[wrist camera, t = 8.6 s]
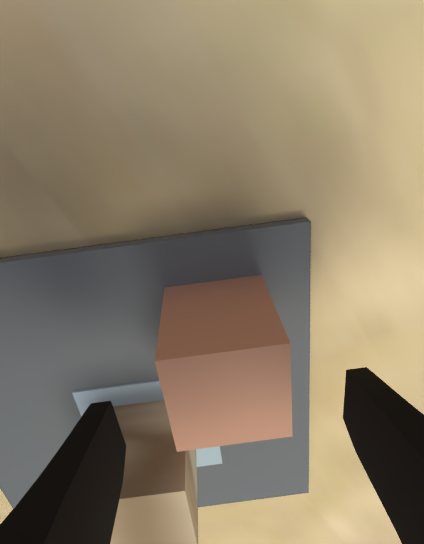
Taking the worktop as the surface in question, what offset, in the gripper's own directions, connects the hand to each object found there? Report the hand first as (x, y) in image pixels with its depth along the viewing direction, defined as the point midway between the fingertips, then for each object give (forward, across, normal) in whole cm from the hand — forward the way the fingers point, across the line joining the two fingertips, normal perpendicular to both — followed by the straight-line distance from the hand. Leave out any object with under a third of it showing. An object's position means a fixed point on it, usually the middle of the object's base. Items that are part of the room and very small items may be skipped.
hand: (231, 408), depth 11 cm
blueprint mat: (+5, +5, +5) cm, 8 cm away
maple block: (+5, +4, +6) cm, 9 cm away
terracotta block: (+5, 0, 0) cm, 5 cm away
